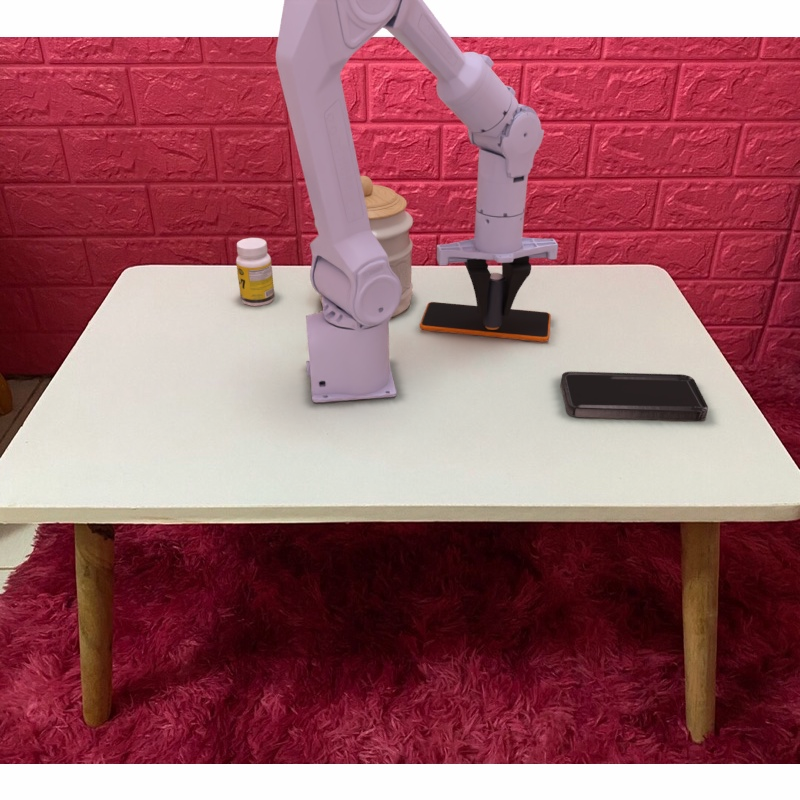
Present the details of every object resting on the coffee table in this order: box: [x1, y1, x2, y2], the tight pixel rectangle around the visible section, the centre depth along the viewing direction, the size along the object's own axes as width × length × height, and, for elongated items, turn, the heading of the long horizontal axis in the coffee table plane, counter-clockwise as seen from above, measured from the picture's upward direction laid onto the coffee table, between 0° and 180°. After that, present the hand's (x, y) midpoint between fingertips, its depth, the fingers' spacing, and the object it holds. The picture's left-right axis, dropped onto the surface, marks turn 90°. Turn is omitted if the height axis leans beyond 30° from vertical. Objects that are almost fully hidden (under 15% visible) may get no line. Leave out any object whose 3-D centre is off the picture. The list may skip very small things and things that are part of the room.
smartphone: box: [419, 301, 552, 343], centre depth 102 cm, size 8×17×1 cm, turn 79°
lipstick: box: [483, 272, 505, 330], centre depth 97 cm, size 2×2×7 cm
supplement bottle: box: [235, 237, 276, 307], centre depth 106 cm, size 5×5×8 cm
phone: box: [560, 371, 709, 421], centre depth 86 cm, size 8×1×15 cm
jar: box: [313, 175, 414, 318], centre depth 103 cm, size 13×13×18 cm
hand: (492, 313), depth 98 cm, fingers closed on lipstick, 2 cm apart
